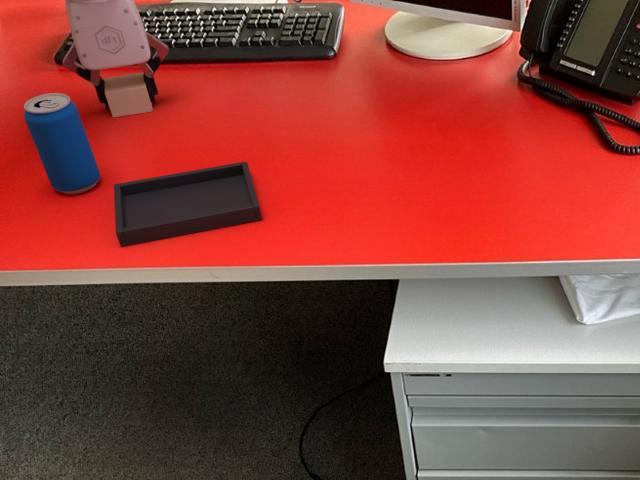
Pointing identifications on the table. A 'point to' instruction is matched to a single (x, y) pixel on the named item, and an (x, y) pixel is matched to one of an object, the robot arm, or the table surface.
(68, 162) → the beverage can
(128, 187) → the tray
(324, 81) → the table surface
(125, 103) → the pad
